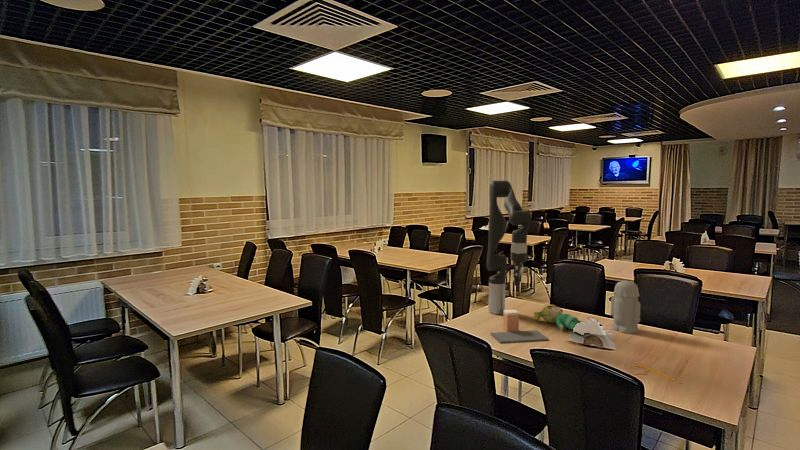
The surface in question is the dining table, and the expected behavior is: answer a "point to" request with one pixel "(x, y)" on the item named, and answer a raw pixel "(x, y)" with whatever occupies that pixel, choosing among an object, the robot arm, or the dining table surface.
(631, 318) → the grey stone figurine
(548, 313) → the toy
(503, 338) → the mat
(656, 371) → the pencil
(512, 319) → the block
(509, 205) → the robot arm
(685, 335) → the dining table surface
